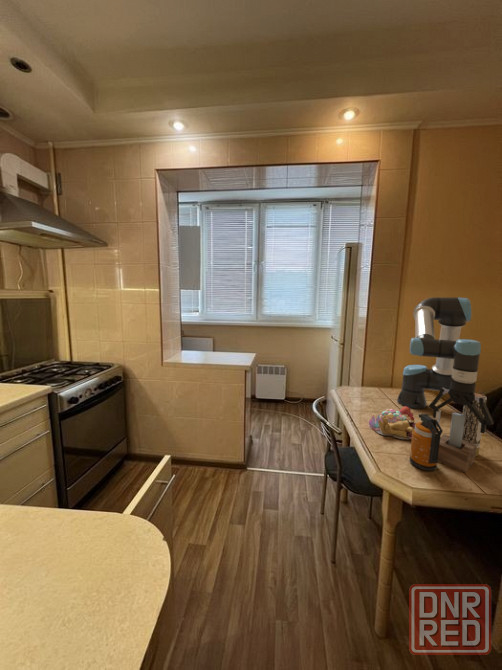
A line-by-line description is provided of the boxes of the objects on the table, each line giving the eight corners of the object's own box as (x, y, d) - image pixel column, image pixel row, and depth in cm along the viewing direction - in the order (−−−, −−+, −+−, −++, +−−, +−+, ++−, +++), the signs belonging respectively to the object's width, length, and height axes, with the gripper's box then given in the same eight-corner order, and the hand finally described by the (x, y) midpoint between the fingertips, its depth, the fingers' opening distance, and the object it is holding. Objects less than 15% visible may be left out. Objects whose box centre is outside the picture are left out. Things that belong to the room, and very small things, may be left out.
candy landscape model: (430, 444, 123) (433, 424, 122) (373, 438, 128) (375, 419, 127) (411, 419, 147) (413, 402, 146) (364, 415, 152) (365, 398, 151)
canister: (426, 457, 113) (431, 410, 110) (446, 475, 102) (452, 424, 99) (404, 458, 112) (409, 411, 109) (422, 476, 102) (428, 424, 98)
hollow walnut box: (442, 449, 119) (444, 433, 118) (474, 461, 110) (476, 445, 109) (432, 458, 112) (434, 442, 111) (465, 472, 104) (467, 455, 103)
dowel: (449, 449, 114) (454, 411, 111) (461, 453, 111) (466, 415, 108) (446, 452, 111) (450, 414, 109) (458, 457, 108) (463, 418, 106)
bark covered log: (458, 446, 121) (465, 391, 117) (478, 452, 117) (486, 395, 113) (457, 453, 116) (464, 395, 112) (478, 459, 112) (486, 400, 108)
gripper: (423, 374, 114) (418, 423, 117) (504, 391, 94) (495, 450, 97) (430, 371, 118) (425, 418, 121) (509, 387, 99) (500, 443, 102)
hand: (456, 432), depth 109 cm, fingers open, 13 cm apart
